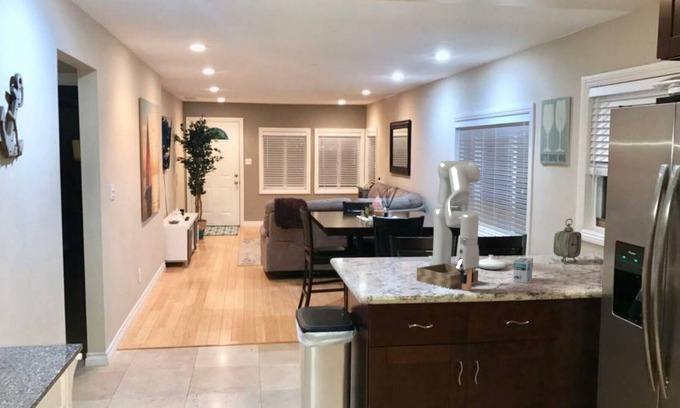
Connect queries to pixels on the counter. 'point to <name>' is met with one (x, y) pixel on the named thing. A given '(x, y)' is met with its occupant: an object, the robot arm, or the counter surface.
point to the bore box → (442, 275)
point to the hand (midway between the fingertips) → (466, 282)
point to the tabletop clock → (567, 243)
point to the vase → (491, 263)
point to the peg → (468, 280)
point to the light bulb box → (523, 269)
